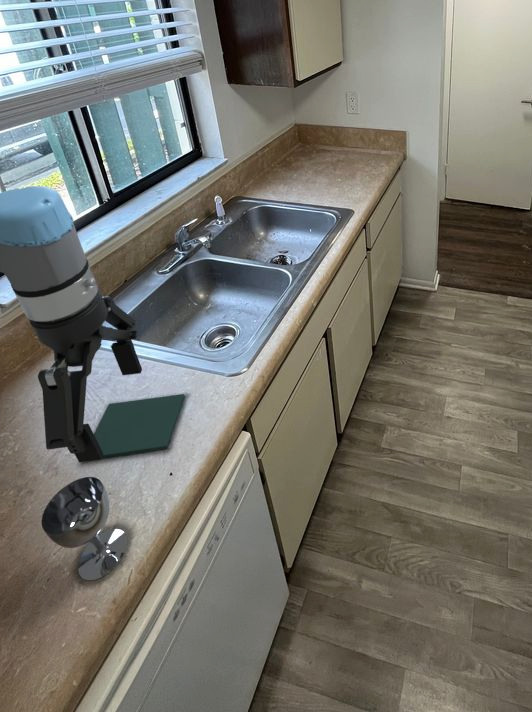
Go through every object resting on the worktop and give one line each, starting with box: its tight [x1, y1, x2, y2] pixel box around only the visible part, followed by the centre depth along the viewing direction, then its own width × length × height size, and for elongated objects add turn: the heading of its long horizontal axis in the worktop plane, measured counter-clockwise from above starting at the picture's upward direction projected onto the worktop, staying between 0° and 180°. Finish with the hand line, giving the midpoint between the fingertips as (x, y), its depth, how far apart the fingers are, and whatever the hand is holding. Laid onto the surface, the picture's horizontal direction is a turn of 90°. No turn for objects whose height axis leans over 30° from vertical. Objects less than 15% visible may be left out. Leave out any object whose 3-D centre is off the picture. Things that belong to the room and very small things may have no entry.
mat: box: [93, 393, 186, 459], centre depth 94 cm, size 16×12×1 cm
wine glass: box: [40, 476, 129, 582], centre depth 70 cm, size 8×8×15 cm
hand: (114, 411), depth 65 cm, fingers open, 13 cm apart
